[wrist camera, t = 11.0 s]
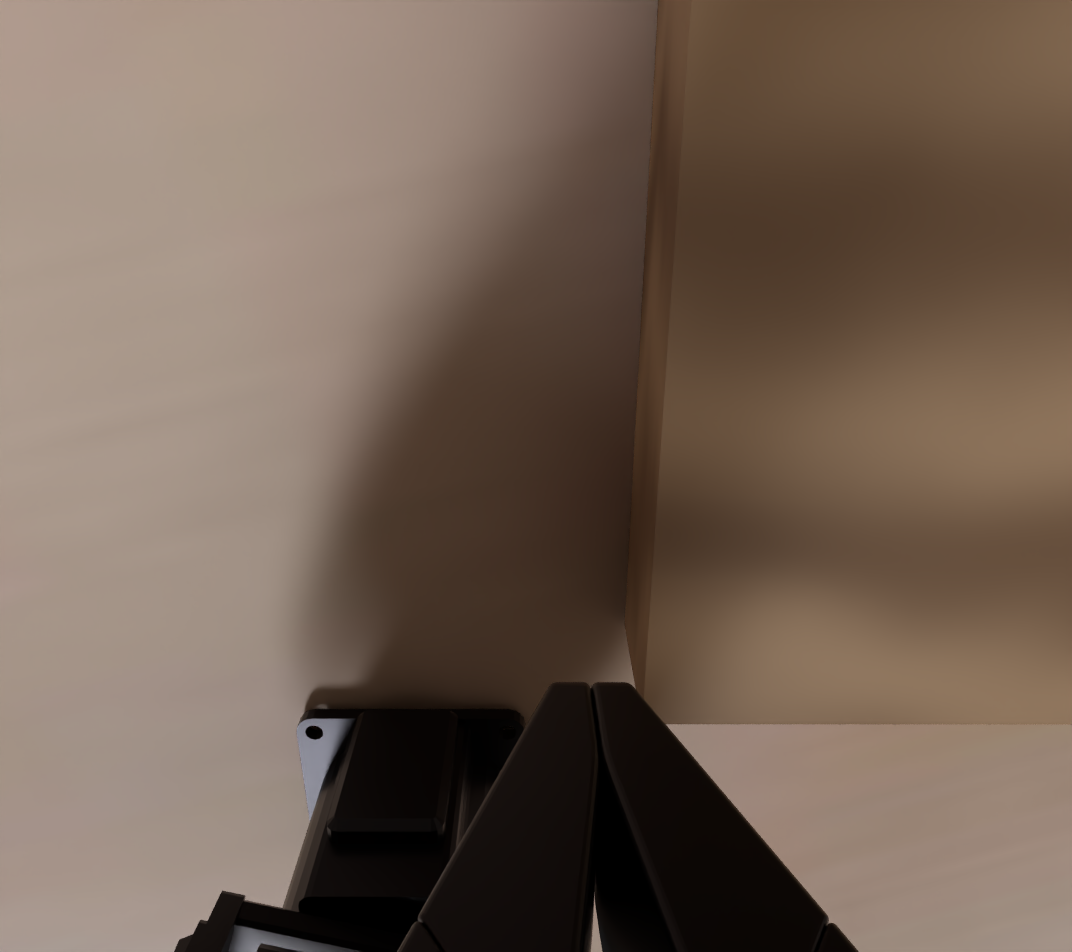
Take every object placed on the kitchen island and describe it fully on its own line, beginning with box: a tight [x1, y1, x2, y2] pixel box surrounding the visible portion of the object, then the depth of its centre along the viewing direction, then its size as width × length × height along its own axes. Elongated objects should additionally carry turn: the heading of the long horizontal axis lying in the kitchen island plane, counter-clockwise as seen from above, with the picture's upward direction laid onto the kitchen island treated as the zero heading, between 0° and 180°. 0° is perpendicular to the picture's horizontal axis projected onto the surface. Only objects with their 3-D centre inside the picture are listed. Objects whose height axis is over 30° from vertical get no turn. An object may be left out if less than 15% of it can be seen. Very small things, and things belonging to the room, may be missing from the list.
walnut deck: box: [625, 0, 1072, 724], centre depth 16 cm, size 22×14×4 cm, turn 0°
